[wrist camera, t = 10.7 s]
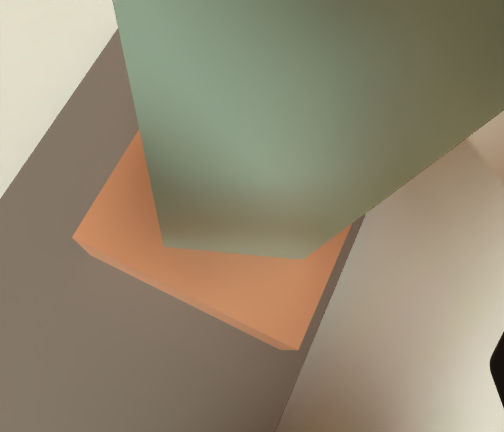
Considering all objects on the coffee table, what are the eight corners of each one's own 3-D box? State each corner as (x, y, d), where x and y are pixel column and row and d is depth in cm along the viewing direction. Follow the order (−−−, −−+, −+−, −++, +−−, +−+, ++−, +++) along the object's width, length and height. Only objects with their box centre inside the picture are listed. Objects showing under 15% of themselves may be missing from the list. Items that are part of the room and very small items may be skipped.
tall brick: (303, 259, 16) (645, 5, 4) (163, 246, 15) (93, -88, 4) (307, 133, 17) (580, -340, 5) (179, 118, 17) (166, -444, 5)
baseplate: (179, 643, 16) (177, 736, 12) (-170, 470, 16) (-281, 508, 12) (384, 155, 22) (426, 114, 18) (130, 27, 22) (119, -40, 18)
